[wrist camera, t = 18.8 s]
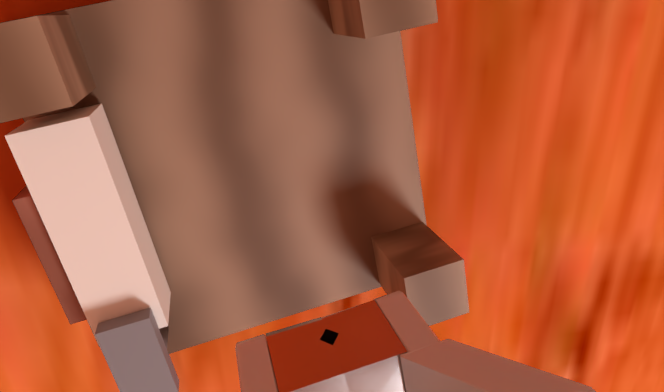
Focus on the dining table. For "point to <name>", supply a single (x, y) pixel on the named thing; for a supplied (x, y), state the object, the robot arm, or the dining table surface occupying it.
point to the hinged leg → (100, 240)
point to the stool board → (247, 150)
